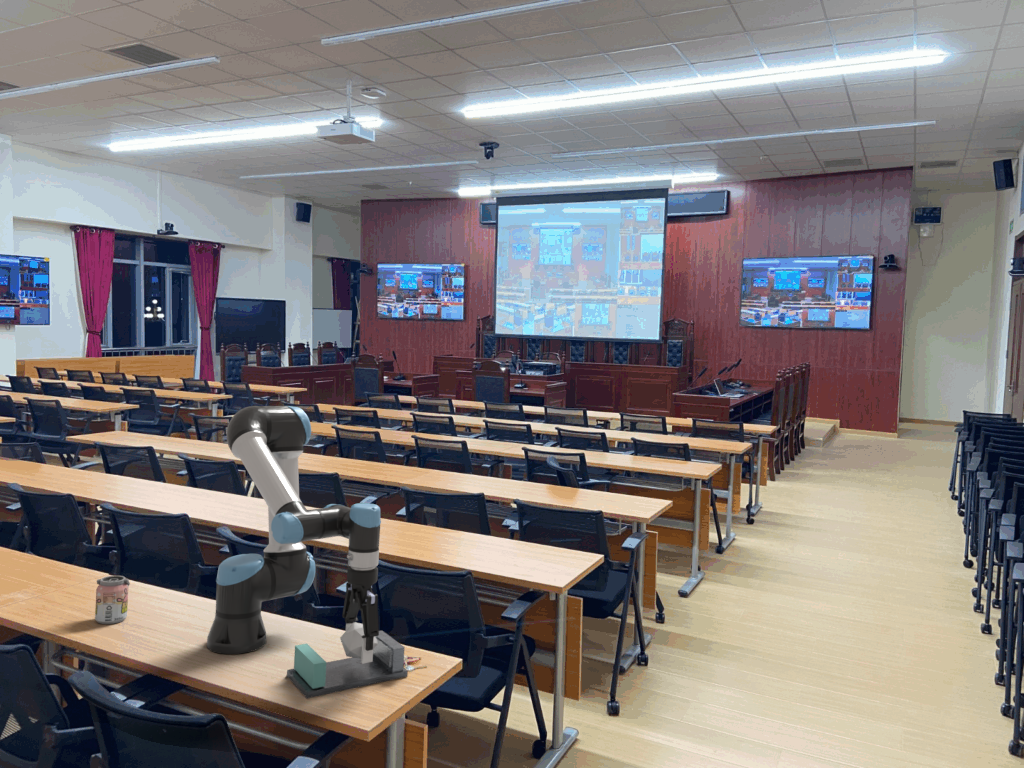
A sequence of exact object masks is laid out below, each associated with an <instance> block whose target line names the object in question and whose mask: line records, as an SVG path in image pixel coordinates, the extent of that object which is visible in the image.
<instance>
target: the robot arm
mask: <svg viewBox="0 0 1024 768" xmlns="http://www.w3.org/2000/svg"><path fill="white" fill-rule="evenodd" d="M227 424H228V425H227V428H226V442H227V445H228V448H229V449H230V450H229V451H230V452H231V453H232V455H233V456H234V457H235V458H237V459H239V460H240V461H241V462H242V465H243V466H244V468H245V469H246V471H247V473H248V474H249V477H250V478H251V480H252V481H253V484H254V485H255V486H256V488H257V489H258V492H259V494H260V495H261V497H262V499H263V501H264V502H265V504H266V505H267V508H268V509H267V510H268V513H267V514H268V517H267V518H268V544H267V546H266V547H265V548H264V549H263V555H261V554H259V553H242V554H241V553H240V554H237V555H233V556H229V557H227V558H226V559H224V560H222V561H221V562H220V563H219V565H218V570H217V575H216V578H215V582H216V590H215V591H216V594H215V613H214V614H215V615H214V619H213V621H212V625H211V627H210V630H209V632H208V635H207V638H206V640H207V641H206V647H207V649H208V650H209V651H211V652H213V653H218V654H223V655H238V654H239V655H240V654H246V653H250V652H254V651H257V650H259V649H261V648H263V647H265V645H266V643H267V630H266V627H265V624H264V621H263V617H262V603H263V602H267V601H271V600H277V599H281V598H286V597H294V596H296V595H300V594H303V593H305V592H307V591H308V590H309V589H310V587H311V586H312V584H313V582H314V580H315V577H316V562H315V560H314V556H313V555H312V553H311V552H309V551H307V546H306V544H304V543H303V542H308V541H315V540H322V539H329V538H334V537H340V538H341V537H342V538H345V539H348V553H347V555H346V558H347V565H348V567H347V569H346V570H347V571H346V572H347V573H346V581H347V582H346V583H345V587H346V588H345V596H344V603H343V608H342V616H341V617H342V618H343V619H344V621H345V631H346V630H347V629H348V628H349V627H350V626H351V625H352V624H353V622H355V623H358V621H359V619H358V613H359V611H360V616H361V622H362V623H361V624H363V630H364V635H363V636H362V653H361V663H362V664H364V663H369V662H373V642H374V636H378V635H379V631H380V630H379V613H378V602H379V601H378V600H379V595H378V594H377V593H376V594H374V593H373V590H372V589H373V588H372V586H373V585H374V584H376V583H377V581H378V579H379V577H378V574H379V568H378V567H377V566H378V565H379V558H380V537H381V535H380V534H381V523H382V519H381V507H380V506H379V505H377V504H374V503H368V502H367V503H366V502H364V503H363V502H359V503H355V504H352V505H351V506H350V507H348V506H345V505H343V504H337V503H330V504H327V505H326V506H324V507H322V508H314V509H307V508H306V506H305V505H304V503H303V502H302V500H301V498H300V483H299V482H300V481H299V479H300V477H299V457H300V456H301V455H302V454H303V453H304V446H306V445H307V444H308V443H309V442H310V438H311V437H312V426H311V422H310V418H309V416H308V415H307V413H306V412H305V411H304V410H303V409H302V408H301V407H299V406H292V405H291V406H290V405H263V406H262V405H259V406H258V405H251V406H246V407H243V408H242V409H240V410H239V411H237V412H236V413H235V414H233V416H232V417H231V419H230V421H229V422H228V423H227Z"/></svg>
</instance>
